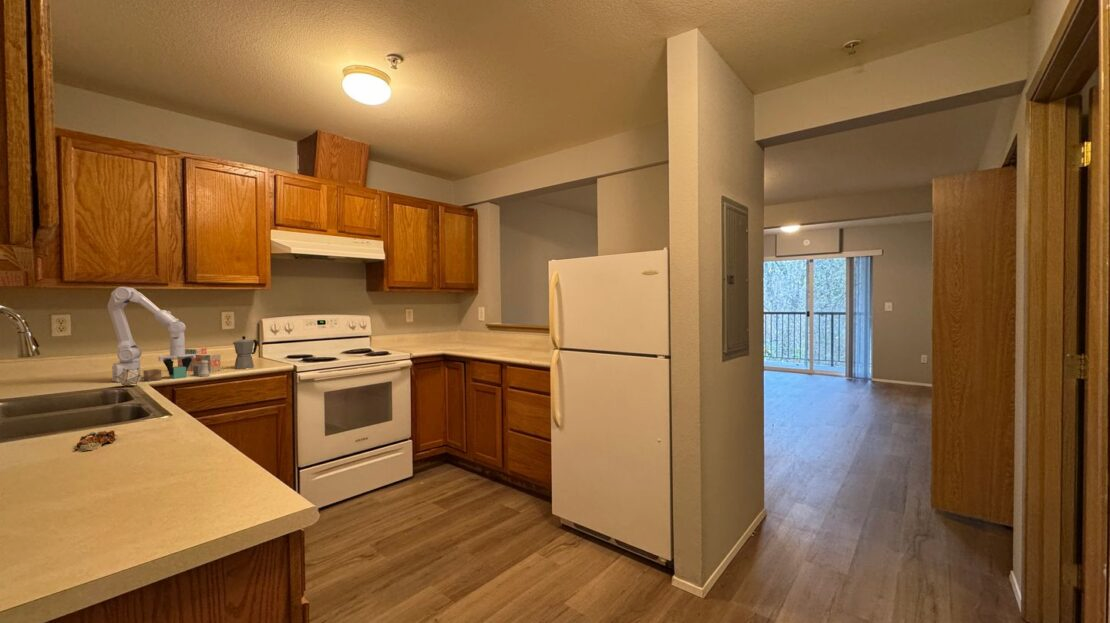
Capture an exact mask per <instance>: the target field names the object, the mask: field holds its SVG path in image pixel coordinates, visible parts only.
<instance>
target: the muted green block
mask: <svg viewBox="0 0 1110 623" xmlns="http://www.w3.org/2000/svg"><path fill="white" fill-rule="evenodd" d="M169 378H170V379H179V378H180V379H181V378H183V379H184V378H187V373H186V367H183V366H180V367H178V366H173V375H169Z"/></svg>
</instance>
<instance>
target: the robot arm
mask: <svg viewBox="0 0 1110 623" xmlns="http://www.w3.org/2000/svg"><path fill="white" fill-rule="evenodd" d="M131 302H133V303H137V304H139V305H141V306H142V307H144V308H145V309H146V310H147V311H149V312H150V313H152V314H153V315H154V317H153V318H154V320H156V321H157V322H158V323H160V324H161V325H162V326H163V327H165V328H167V331H168V332H169V355H162V356H158V362H162V363H163V364H164V365H165V367H166V369H167V371H168V374H169V375H173V367H174V363H175V362H174V360H178V359H182V364H183V367H186V374H187V373H188V372H187V369H188V366H189V364H190V362H191V361H192V359H191V358H196V354H185V348H186V346H185V345H186V340H185V337H186V336H185V331H186V327H187V326H186V325H185V323H184V322H183V321H180V319H179V318H176V317H175V316H173V315H172V314H171V313H172V312H171V311H169V310H168V311H167V310H166V309H160V308H159V307H158V306H157V305H156V304H155V303H153V302H152V301H151V300H150V299H149V298H147V297H146V296H145V295H144V294H143V293H141V292H140V291H137V289H136V288H134V287H128V286H118V287H117V288H115V289H114V290H113V291H112V292H111V293H110V298H109V301H108V303H107V310H108V313H109V317H110V319H111V323H112V326H113V329H114V332H115V335H116V339H117V342H118V345H117V351H118V352H117V358H118V360H119V362H114V363H112V368H111V370H112V371H111V372H112V379H111V381H112V382H114V381H115V383H121V382H120V381H119V379H118V376H119V375H120V374H121V373H122V372H123V371H124V370H123V369H125V370H127V369H128V370H131V369H137V368H139V369H138V371H139V373H140V374H141V359H140V357H141V356H142V350H141V348H139V347H138V345H137V342H135V340H134V339H133V336H132V332H131V329H130V325H129V322H128V319H127V316H126V314H125V309H124V308H126V307H127V305H128V304H129V303H131ZM177 357H185V358H177ZM116 376H117V377H116ZM142 378H143V377H142ZM142 380H143V381H144V378H143V379H141V380H140V381H142Z"/></svg>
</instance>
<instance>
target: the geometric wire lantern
mask: <svg viewBox="0 0 1110 623" xmlns="http://www.w3.org/2000/svg"><path fill="white" fill-rule="evenodd" d="M138 369H139V368H137V369H131V370H128V369H127V370H125V369H123V370H124V371H123V372H122V373H121V374H120V375H119V376H118V379H119V381H120V382H119V383H120V384H121V386H122V385H130V386H132V385H131V384H136V385H137V384H138V383H139V382H140V381H142V380H141V379H143V378H144V376H143V377H142V375H141V372H140V373H139V371H138ZM116 377H117V376H116ZM143 380H144V379H143Z"/></svg>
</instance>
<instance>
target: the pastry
mask: <svg viewBox="0 0 1110 623" xmlns="http://www.w3.org/2000/svg"><path fill="white" fill-rule="evenodd" d="M115 433H116V432H115V430H110V431H109V430H108V432H107V430H101V429H100V430H99V431H97V432H94V431H91V432H89V433H86V434H85V435H81V437H80V438H79V441H78V442H76V445H75V448H74V452H75V453H76V452H77V453H83V452H86V451H95V450H99V449H102V445H104V444H106V443H108V442H109V443H110V444H114V443H115V442H116V439H115V437H118V436H117V434H115ZM114 441H115V442H114ZM113 442H114V443H113Z"/></svg>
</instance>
